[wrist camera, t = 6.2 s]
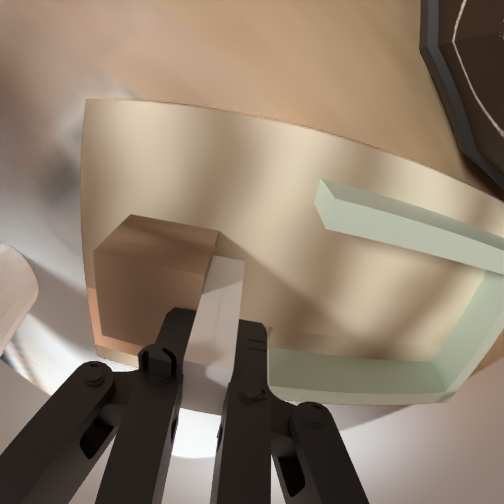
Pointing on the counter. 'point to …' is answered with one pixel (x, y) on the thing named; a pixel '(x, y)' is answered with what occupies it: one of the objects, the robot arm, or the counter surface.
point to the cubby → (389, 371)
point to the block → (149, 275)
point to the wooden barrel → (469, 74)
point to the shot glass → (14, 292)
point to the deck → (281, 224)
